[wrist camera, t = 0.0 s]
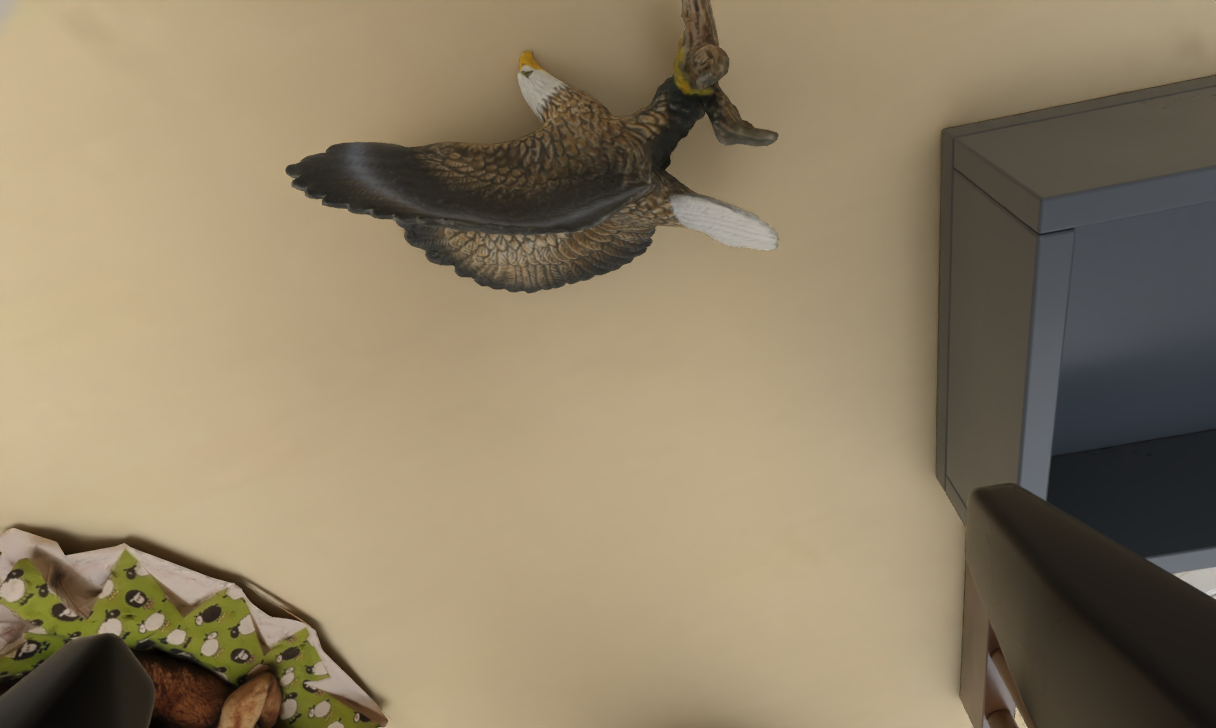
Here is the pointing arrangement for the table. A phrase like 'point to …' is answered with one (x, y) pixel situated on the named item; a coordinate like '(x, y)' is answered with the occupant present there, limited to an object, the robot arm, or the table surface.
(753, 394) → the table surface
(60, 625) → the bear figurine
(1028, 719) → the drying rack
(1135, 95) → the open box
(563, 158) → the eagle figurine
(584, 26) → the table surface
